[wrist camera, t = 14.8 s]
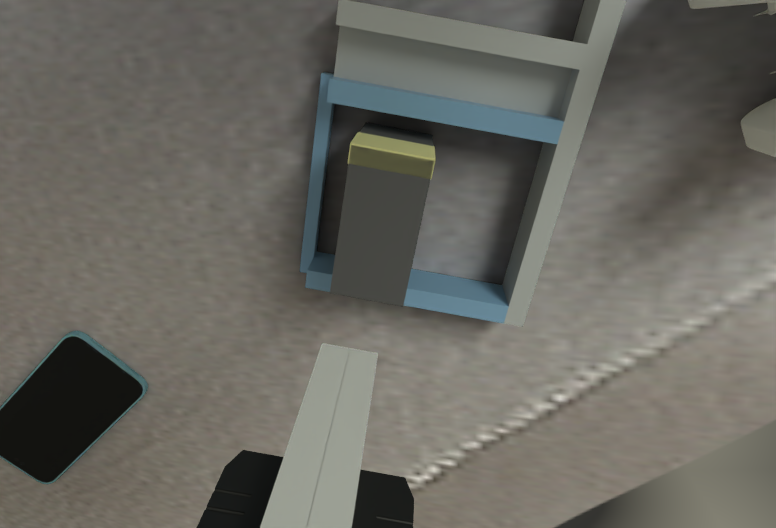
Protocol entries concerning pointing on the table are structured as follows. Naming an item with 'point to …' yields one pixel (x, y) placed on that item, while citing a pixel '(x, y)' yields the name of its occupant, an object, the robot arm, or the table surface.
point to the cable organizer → (768, 121)
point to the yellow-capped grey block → (382, 212)
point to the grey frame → (467, 123)
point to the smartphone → (66, 407)
